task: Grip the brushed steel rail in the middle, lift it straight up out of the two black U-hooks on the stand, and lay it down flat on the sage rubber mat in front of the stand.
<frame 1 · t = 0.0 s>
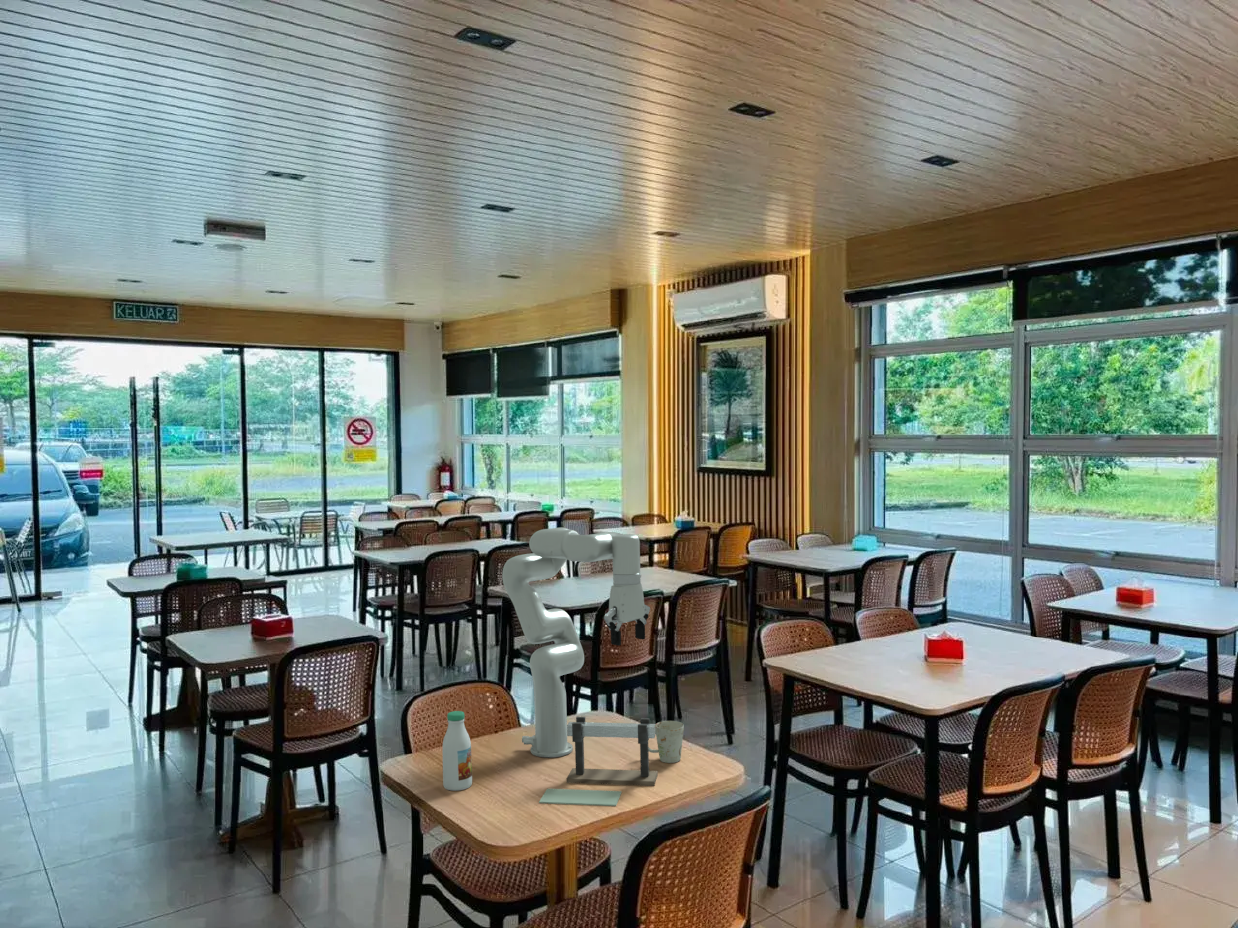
hand: (628, 641, 252), 37 cm above the table, tool pointing down, fingers open, 9 cm apart
milk bottle: (457, 786, 248), on the table
mug: (662, 759, 266), on the table
mat: (580, 797, 238), on the table
hook stand: (612, 778, 251), on the table
rail: (611, 735, 250), point 12 cm above the table, touching hook stand
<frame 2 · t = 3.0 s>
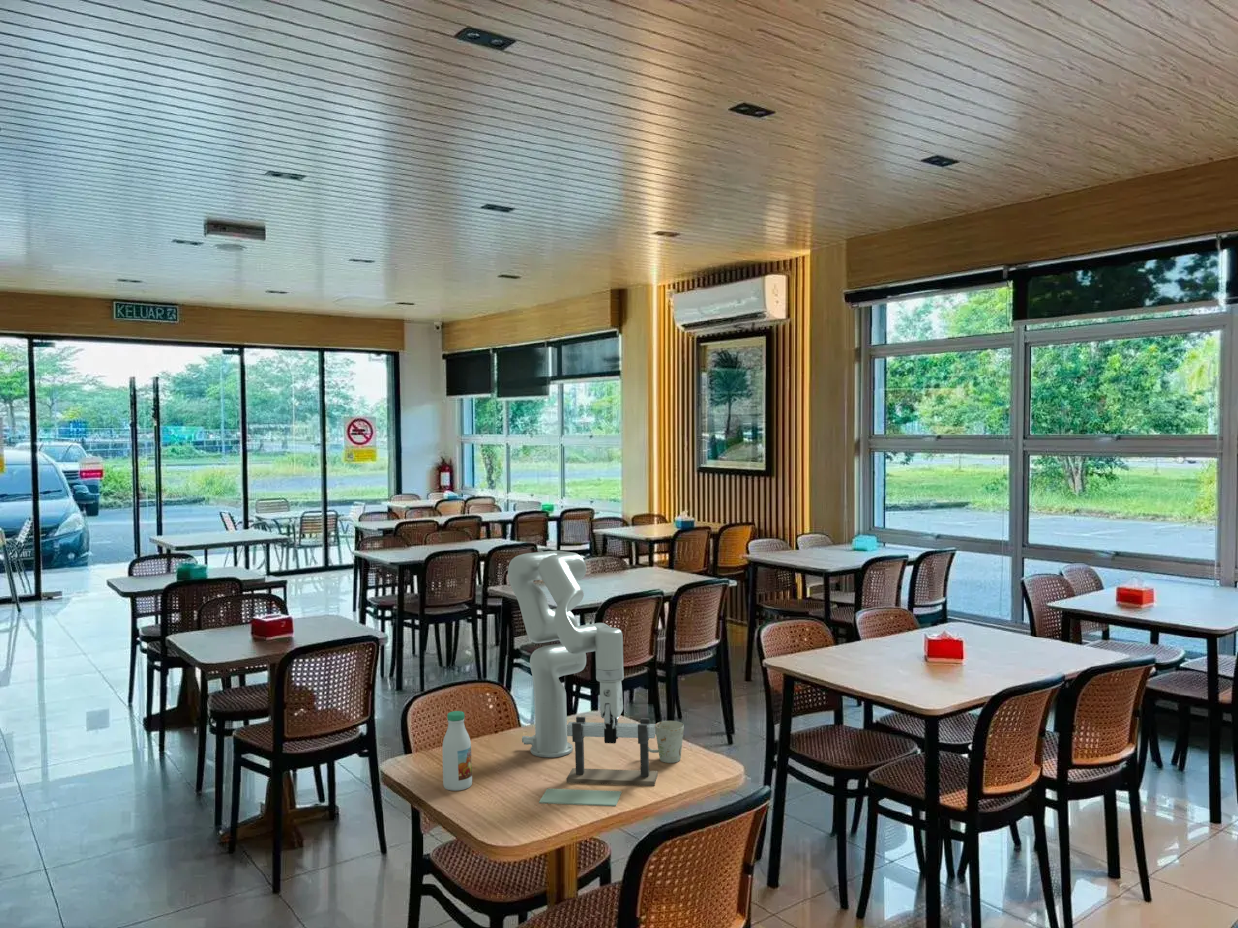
hand: (611, 739, 251), 11 cm above the table, tool pointing down, fingers closed on rail, 3 cm apart
rail: (611, 735, 250), point 12 cm above the table, touching gripper, hook stand
everything else where it was.
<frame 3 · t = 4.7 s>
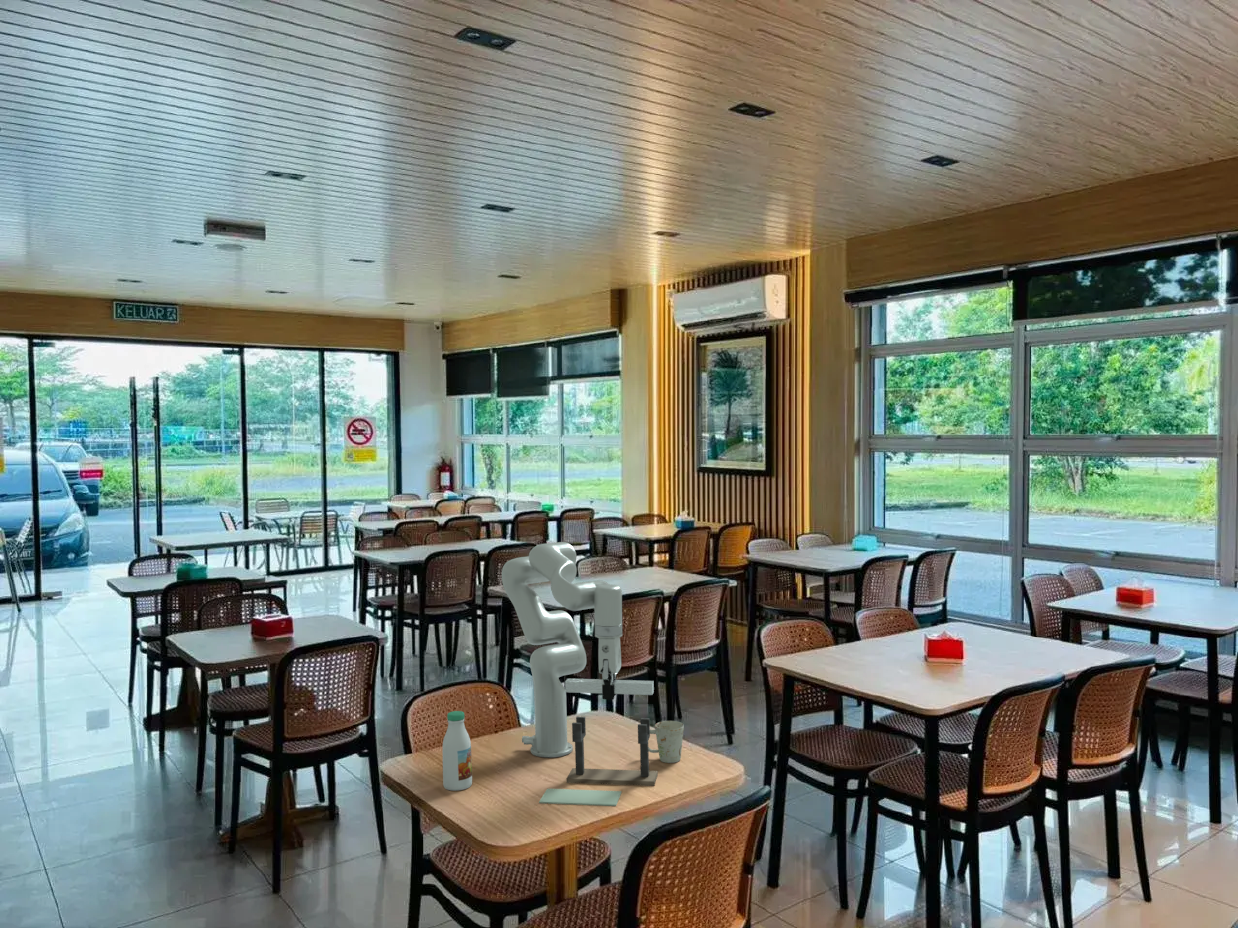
hand: (609, 696, 251), 23 cm above the table, tool pointing down, fingers closed on rail, 3 cm apart
rail: (609, 691, 251), point 24 cm above the table, touching gripper
everything else where it was.
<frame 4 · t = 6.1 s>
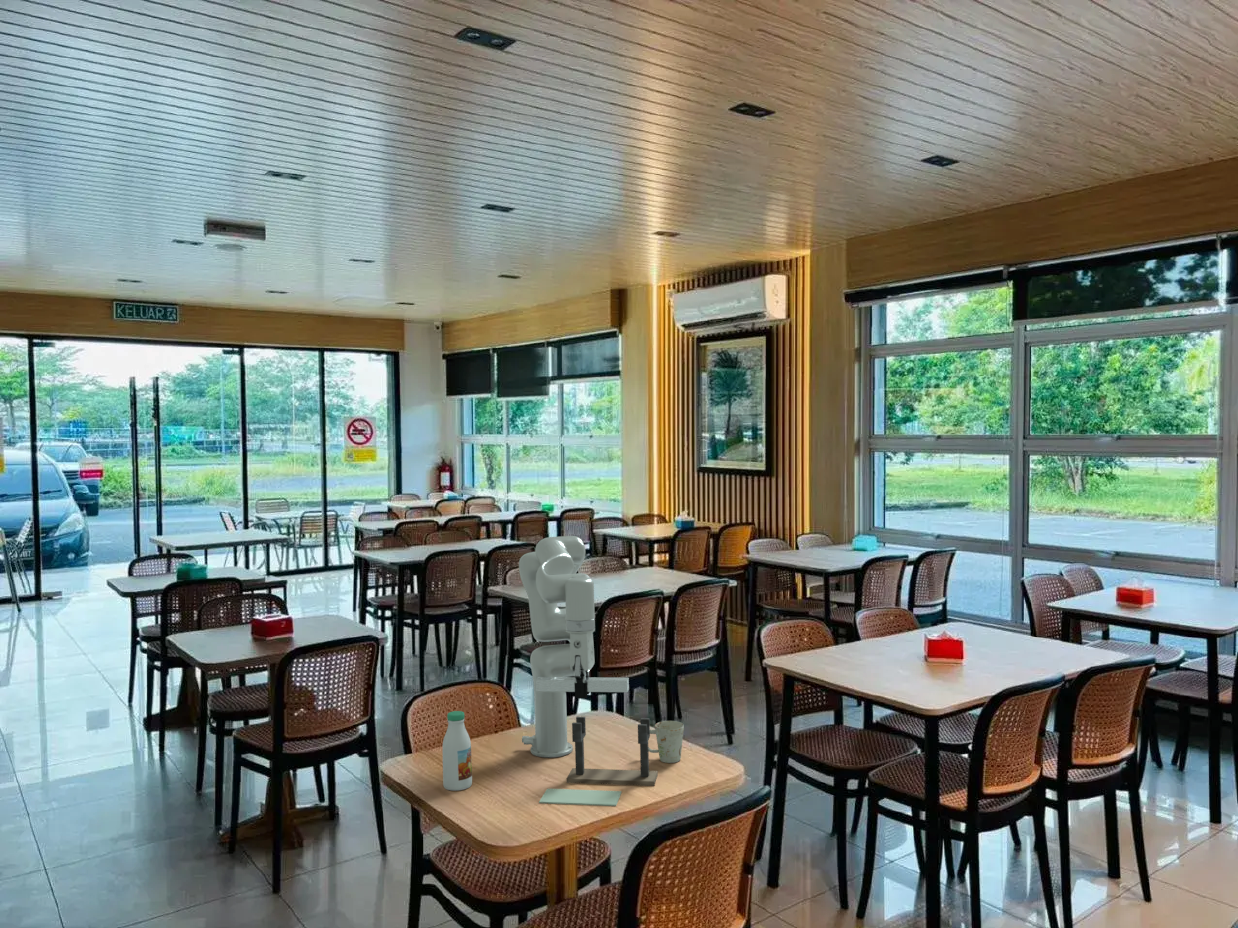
hand: (582, 695, 239), 26 cm above the table, tool pointing down, fingers closed on rail, 3 cm apart
rail: (582, 690, 239), point 28 cm above the table, touching gripper
everything else where it was.
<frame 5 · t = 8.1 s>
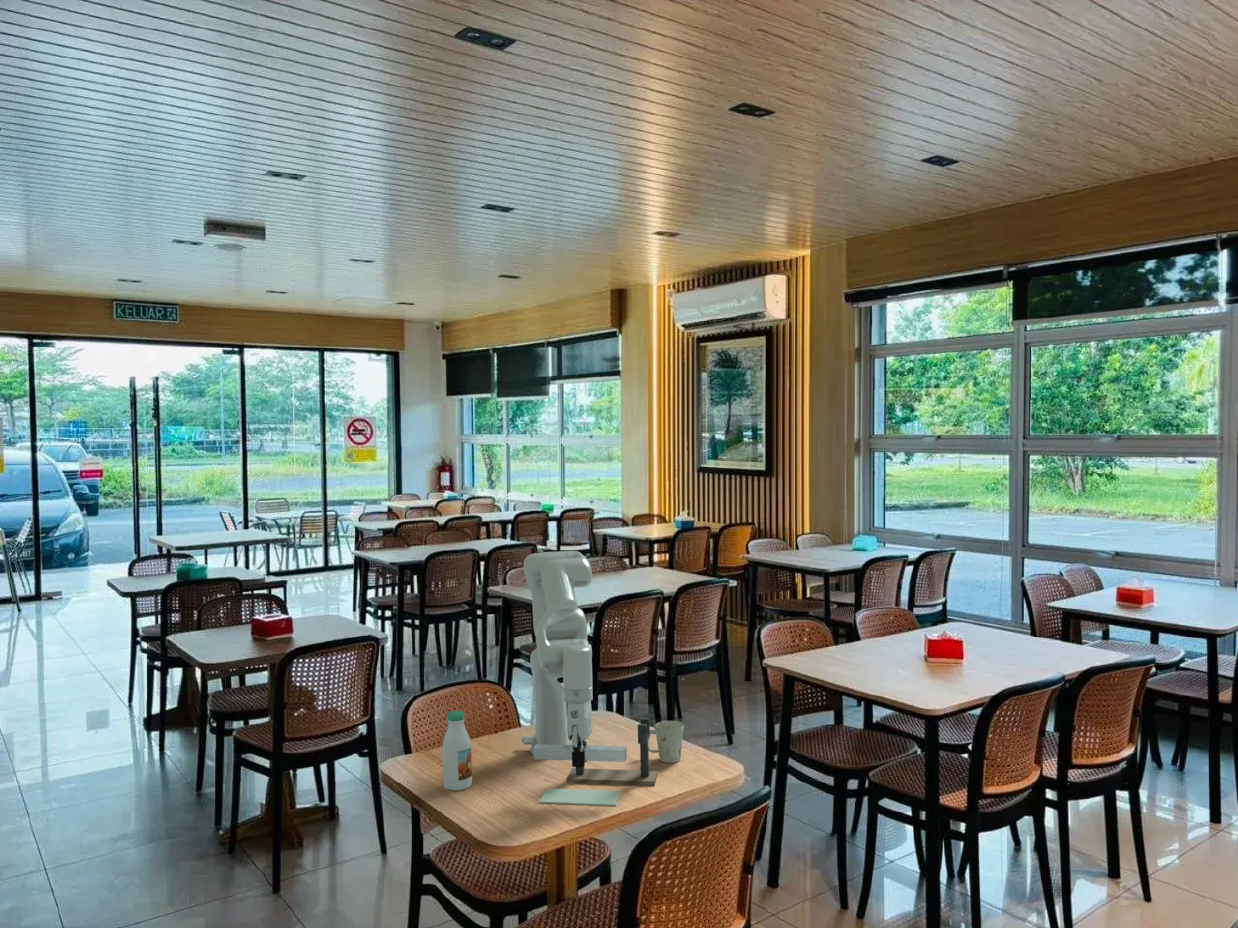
hand: (579, 763, 238), 9 cm above the table, tool pointing down, fingers closed on rail, 3 cm apart
rail: (579, 758, 238), point 10 cm above the table, touching gripper
everything else where it was.
when the fingers open (2 cm above the table, at t = 9.6 s): rail drops 2 cm, resting on mat.
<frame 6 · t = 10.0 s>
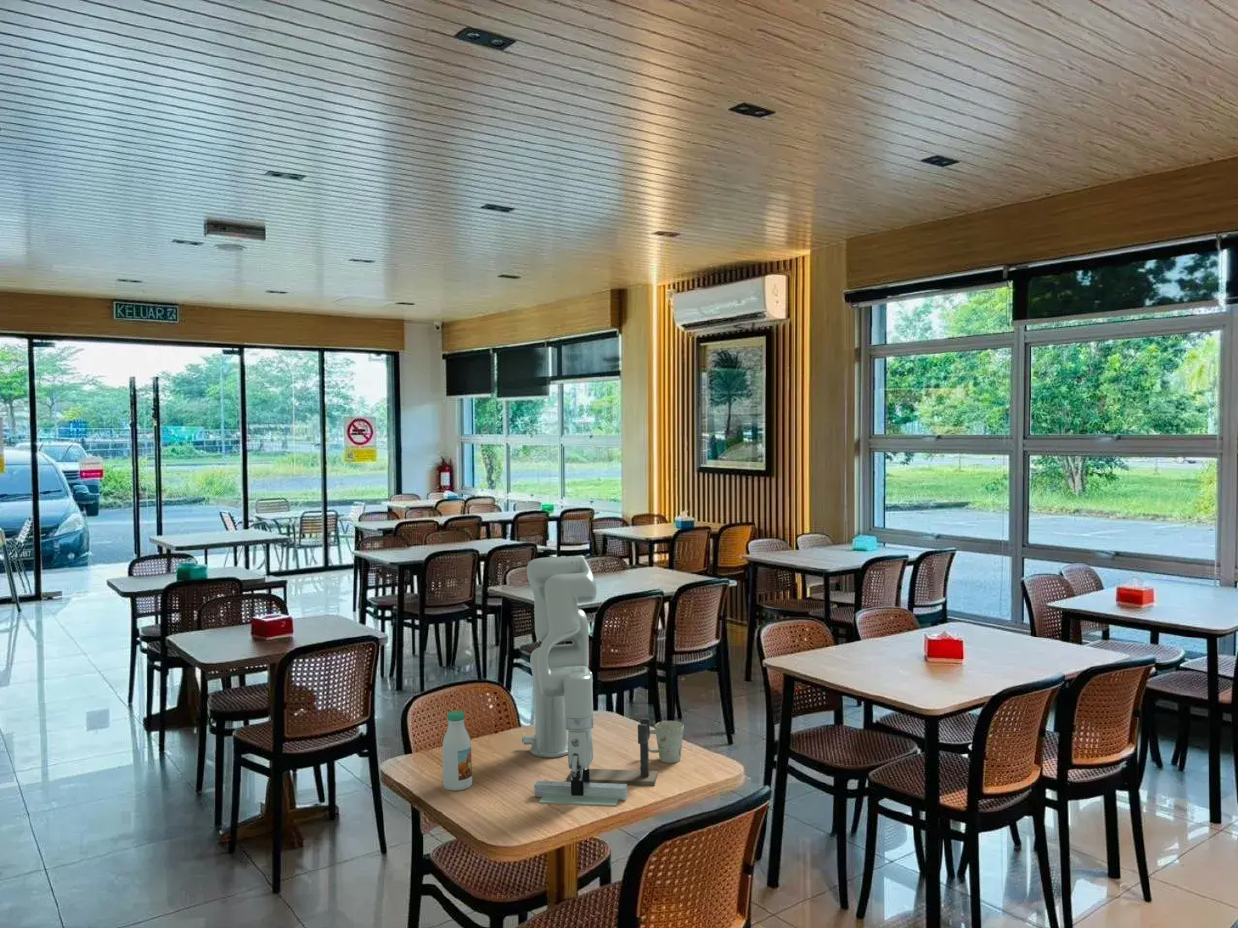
hand: (580, 788, 238), 2 cm above the table, tool pointing down, fingers open, 7 cm apart
rail: (580, 795, 238), resting on mat
everything else where it was.
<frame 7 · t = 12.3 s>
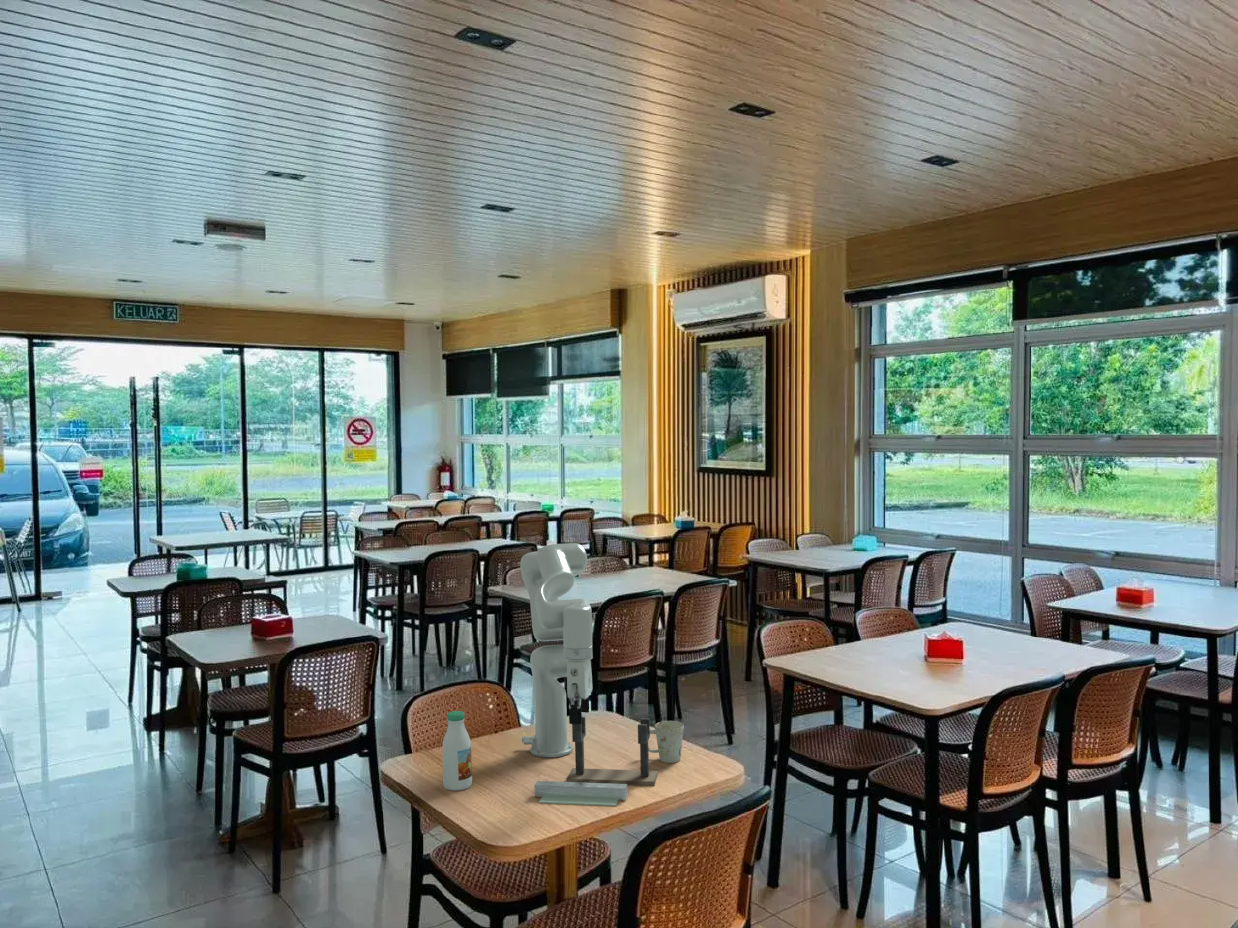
hand: (579, 717, 239), 21 cm above the table, tool pointing down, fingers open, 9 cm apart
nothing on the table moved.
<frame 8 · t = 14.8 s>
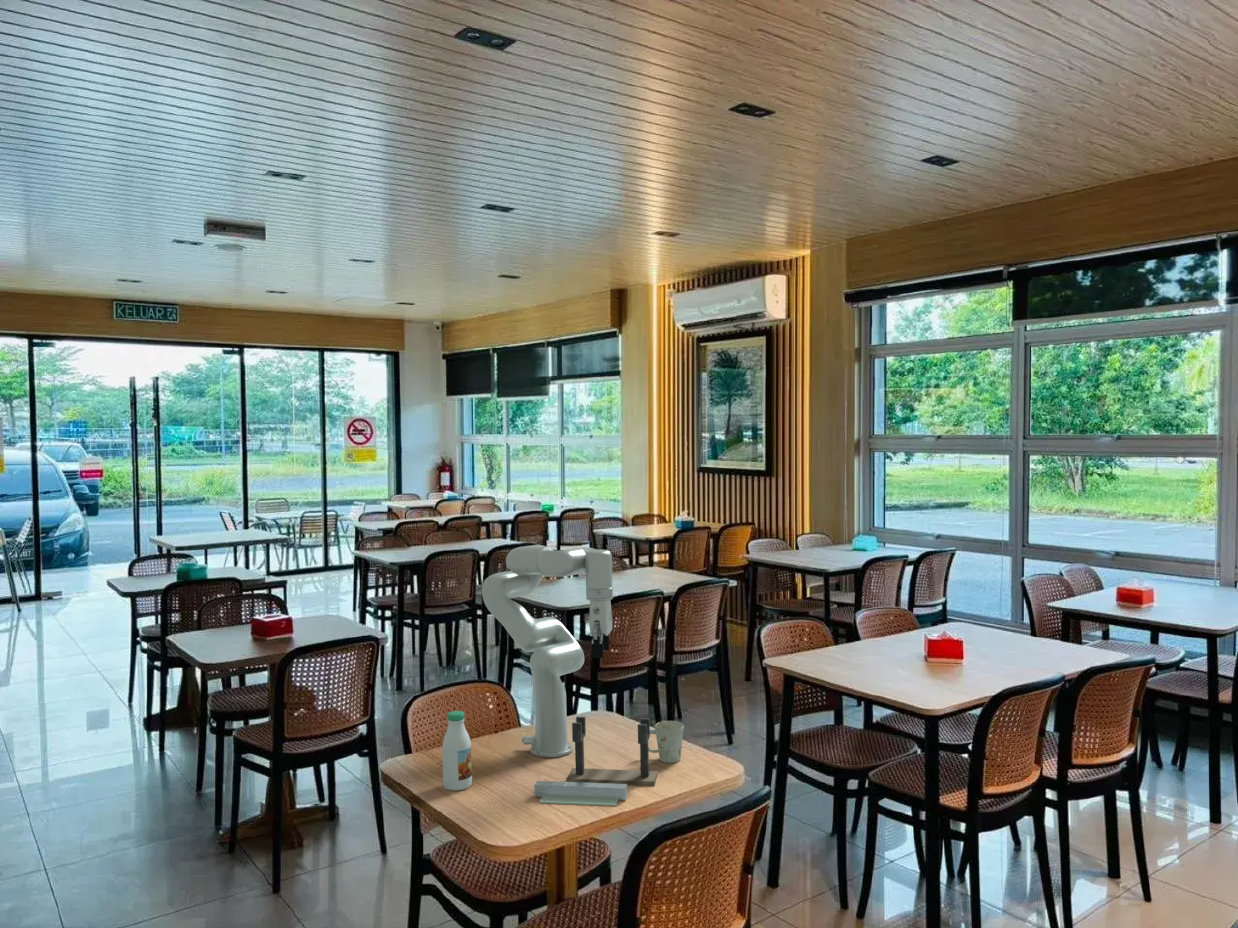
hand: (600, 653, 260), 32 cm above the table, tool pointing down, fingers open, 9 cm apart
nothing on the table moved.
at the end: rail inside the target area on the mat (0.2 cm from its centre), point 0.4 cm above the mat's base; rail tilted 0°; the gripper is holding nothing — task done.
